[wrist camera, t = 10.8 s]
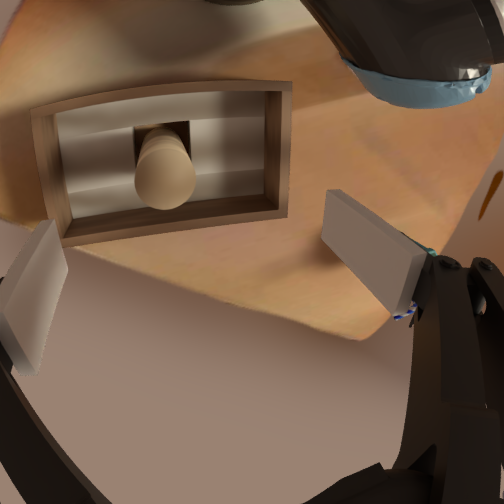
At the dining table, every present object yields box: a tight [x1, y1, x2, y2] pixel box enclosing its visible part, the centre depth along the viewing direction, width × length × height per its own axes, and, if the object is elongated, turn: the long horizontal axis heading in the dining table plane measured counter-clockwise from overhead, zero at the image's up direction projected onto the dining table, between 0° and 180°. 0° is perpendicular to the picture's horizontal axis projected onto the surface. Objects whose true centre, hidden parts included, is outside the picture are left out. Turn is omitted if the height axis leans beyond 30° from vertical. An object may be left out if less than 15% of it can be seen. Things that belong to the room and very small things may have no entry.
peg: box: [134, 127, 196, 210], centre depth 28 cm, size 4×4×14 cm
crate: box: [30, 80, 292, 248], centre depth 30 cm, size 14×24×8 cm, turn 90°
